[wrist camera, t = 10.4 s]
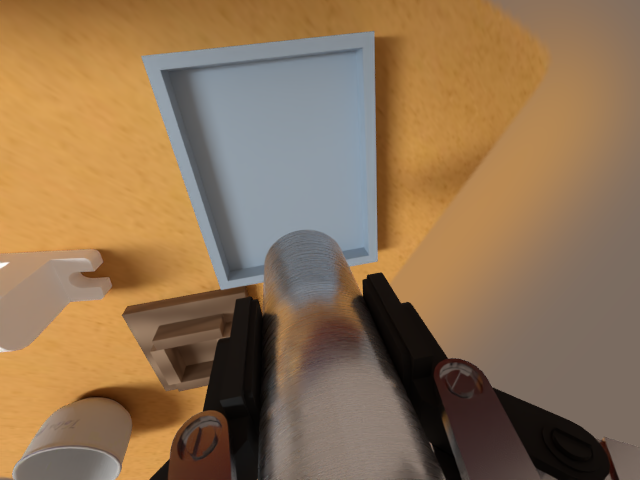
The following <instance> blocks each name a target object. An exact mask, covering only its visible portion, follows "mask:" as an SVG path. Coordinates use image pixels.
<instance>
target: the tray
mask: <svg viewBox="0 0 640 480" xmlns="http://www.w3.org/2000/svg"><path fill="white" fill-rule="evenodd" d="M141 57H142V60H143V63H144V66H145V69H146V72H147V75H148V77H149V80H150V83H151V86H152V89H153V92H154V95H155V98H156V101H157V104H158V107H159V110H160V113H161V115H162V118H163V121H164V124H165V127H166V130H167V133H168V136H169V139H170V142H171V145H172V148H173V151H174V154H175V156H176V159H177V162H178V165H179V168H180V171H181V174H182V177H183V180H184V183H185V186H186V189H187V192H188V194H189V197H190V200H191V203H192V206H193V209H194V212H195V215H196V218H197V221H198V224H199V227H200V230H201V233H202V235H203V238H204V241H205V244H206V247H207V250H208V253H209V256H210V259H211V262H212V265H213V268H214V271H215V274H216V276H217V279H218V282H219V285H220V288H221V290H224V289H229V288H235V287H240V286H246V285H251V284H257V283H262V282H264V262H265V258H266V255H267V253H268V251H269V249H270V248H271V246H272V245H273V244H274V243H275V242H276V241H277V240H278V239H280V238H281V237H283V236H284V235H286V234H288V233H291V232H294V231H299V230H315V231H319V232H322V233H325V234H327V235H328V236H330V237H331V238H333V239H334V240H335V241H336V242H337V243H338V245H339V246H340V248H341V250H342V252H343V254H344V256H345V259H346V261H347V263H348V265H349V266H355V265H360V264H366V263H371V262H377V261H378V254H377V184H376V114H375V45H374V31H371V32H361V33H352V34H343V35H334V36H324V37H315V38H306V39H296V40H287V41H278V42H268V43H259V44H250V45H240V46H231V47H222V48H212V49H203V50H194V51H184V52H175V53H166V54H157V55H147V56H141Z"/></svg>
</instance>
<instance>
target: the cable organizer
mask: <svg viewBox="0 0 640 480" xmlns="http://www.w3.org/2000/svg"><path fill="white" fill-rule="evenodd" d="M102 263H103V260H102V257H101V254H100V252H99V251H97V250H95V249H83V250H63V251H43V252H24V253H4V254H0V352H8V351H16V350H20V349H23V348H25V347H27V346H28V345H29V344H31V343H32V342H33V341H34V340H35V339H36V338H37V337H38V336H39V335H40V334H41V332H42V331H43V330H44V329H45V328H46V327H47V326H48V325H49V324H50V323H51V322H52V321H53V320H54V319H55V317H56V316H57V315H58V314H59V313H60V312H61V311H62V310H63V309H64V308H65V307H66V306H67V305H68V304H69V302H74V301H87V300H100V299H102V298H103V297H104V296H105V295H106V294H107V292H108V291H109V290H110V289H111V287H112V284H111V281H110V278H109V277H101V278H88V277H85V276H83V275H82V274H81V273H80V272H90V271H95V270H96V269H97V268H98V267H99V266H100V265H101V264H102Z"/></svg>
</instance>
